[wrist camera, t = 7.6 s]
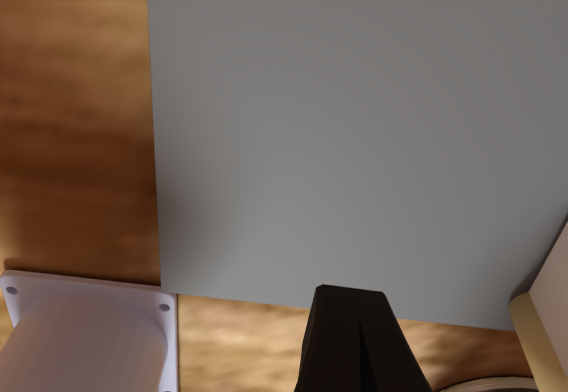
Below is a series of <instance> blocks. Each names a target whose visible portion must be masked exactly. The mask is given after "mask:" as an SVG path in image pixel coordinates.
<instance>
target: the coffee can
mask: <svg viewBox="0 0 568 392" xmlns="http://www.w3.org/2000/svg"><path fill="white" fill-rule="evenodd" d="M438 392H539V389H538V387H537V384H536V382H535V379H534V378H525V377H515V376H510V377H491V378H484V379H477V380H472V381H468V382H464V383H460V384H457V385H454V386H451V387H448V388H446V389H443V390H441V391H438Z"/></svg>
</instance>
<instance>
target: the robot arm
mask: <svg viewBox="0 0 568 392" xmlns="http://www.w3.org/2000/svg"><path fill="white" fill-rule="evenodd" d="M0 285H1V289H2V292H3V295H4V298H5V301H6V305H7V308H8V311H9V314H10V317H11V321H12V324H13V327H14V330H13V331H12V333H11V335H10V337H9V338H8V340H7V342H6V343H5V345H4V347H3V349H2V350H1V352H0V392H179V385H178V338H177V296H176V293H167V292H161V287H160V286H151V285H142V284H133V283H124V282H116V281H107V280H98V279H89V278H80V277H71V276H62V275H53V274H44V273H35V272H27V271H18V270H6V271H4V272H3V273H2V275H1V276H0ZM165 304H167V305H165ZM294 392H433V391H432V389H431V387H430V385H429V383H428V381H427V380H426V378H425V376H424V374H423V372H422V370H421V369H420V367H419V365H418V363H417V361H416V359H415V357H414V355H413V353H412V351H411V349H410V347H409V345H408V343H407V341H406V339H405V337H404V335H403V332H402V330H401V328H400V326H399V324H398V322H397V320H396V317H395V315H394V313H393V311H392V308H391V306H390V304H389V301H388V299H387V297H386V295H385V294H384V293H383V292H381V291H373V290H366V289H358V288H350V287H342V286H334V285H326V284H322V285H320V286H318V287H316V289H315V293H314V297H313V302H312V306H311V310H310V314H309V318H308V322H307V327H306V331H305V335H304V339H303V343H302V353H301V362H300V370H299V377H298V382H297V384H296V387H295V390H294Z"/></svg>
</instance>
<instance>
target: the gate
mask: <svg viewBox="0 0 568 392" xmlns="http://www.w3.org/2000/svg"><path fill="white" fill-rule="evenodd" d="M508 312H509V314H510V317H511V320H512V322H513V325H514V327H515V330H516V333H517V335H518V338H519V340H520V343H521V345H522V348H523V351H524V353H525V356H526V358H527V361H528V364H529V366H530V369H531V371H532V374H533V376H534V379H535V382H536V384H537V387H538V389H539V392H568V222H567V224H566V225H565V227H564V229H563V231H562V233H561V234H560V236H559V238H558V240H557V242H556V243H555V245H554V247H553V249H552V251H551V252H550V254H549V256H548V258H547V260H546V261H545V263H544V265H543V267H542V269H541V270H540V272H539V274H538V276H537V278H536V279H535V281H534V283H533V285H532V287H531V288H530V290H529V292H526V293H523V294H521V295H519V296H517V297H515V298H514V299H513V300H512V301H511V302H510V304H509V306H508Z"/></svg>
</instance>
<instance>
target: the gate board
mask: <svg viewBox="0 0 568 392" xmlns="http://www.w3.org/2000/svg"><path fill="white" fill-rule="evenodd" d="M148 21H149V43H150V64H151V85H152V107H153V128H154V149H155V170H156V192H157V213H158V234H159V256H160V277H161V292H167V293H176V294H185V295H193V296H202V297H211V298H220V299H229V300H238V301H247V302H256V303H265V304H274V305H283V306H292V307H300V308H309V309H311V306H312V302H313V297H314V293H315V289H316V287H318V286H320V285H322V284H326V285H334V286H342V287H350V288H358V289H366V290H373V291H381V292H383V293H384V294H385V295H386V297H387V299H388V301H389V304H390V306H391V308H392V311H393V313H394V315H395V317H396V318H399V319H407V320H416V321H425V322H434V323H443V324H452V325H461V326H470V327H479V328H488V329H497V330H506V331H514V332H516V330H515V327H514V325H513V322H512V320H511V317H510V314H509V312H508V306H509V304H510V302H511V301H512V300H513V299H514V298H515V297H517V296H519V295H521V294H523V293H526V292H529V290H530V288H531V287H532V285H533V283H534V281H535V279H536V278H537V276H538V274H539V272H540V270H541V269H542V267H543V265H544V263H545V261H546V260H547V258H548V256H549V254H550V252H551V251H552V249H553V247H554V245H555V243H556V242H557V240H558V238H559V236H560V234H561V233H562V231H563V229H564V227H565V225H566V224H567V222H568V0H148Z"/></svg>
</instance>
